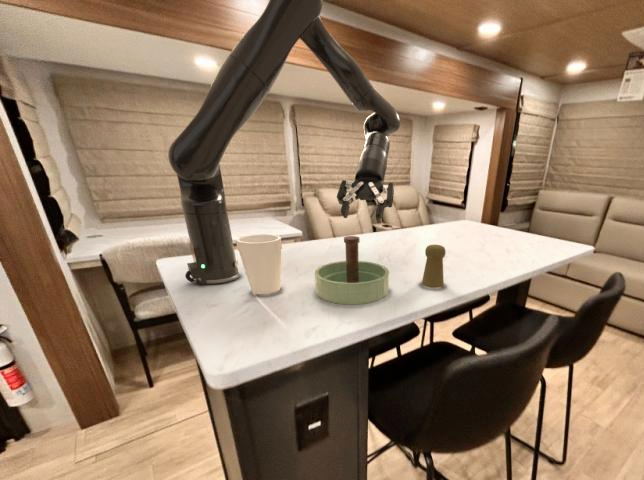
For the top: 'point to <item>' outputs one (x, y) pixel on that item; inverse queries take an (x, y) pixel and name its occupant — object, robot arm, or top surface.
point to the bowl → (365, 291)
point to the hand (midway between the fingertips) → (360, 217)
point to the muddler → (352, 259)
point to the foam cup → (261, 261)
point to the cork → (434, 266)
